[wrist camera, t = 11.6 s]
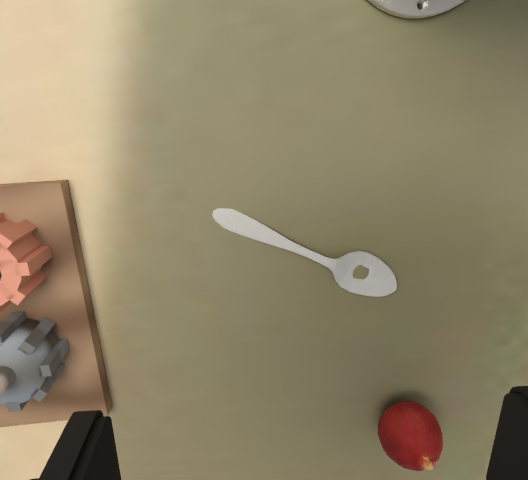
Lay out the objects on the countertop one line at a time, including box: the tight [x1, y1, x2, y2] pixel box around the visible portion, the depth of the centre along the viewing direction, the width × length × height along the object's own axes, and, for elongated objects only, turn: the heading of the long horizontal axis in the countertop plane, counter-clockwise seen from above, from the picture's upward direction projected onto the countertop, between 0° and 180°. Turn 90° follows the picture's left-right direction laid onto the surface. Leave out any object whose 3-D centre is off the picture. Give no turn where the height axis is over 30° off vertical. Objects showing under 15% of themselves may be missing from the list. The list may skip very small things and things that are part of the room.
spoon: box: [213, 208, 397, 297], centre depth 36 cm, size 4×21×2 cm, turn 66°
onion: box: [378, 401, 443, 471], centre depth 39 cm, size 6×6×8 cm
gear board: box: [0, 180, 112, 427], centre depth 33 cm, size 22×11×8 cm, turn 3°
